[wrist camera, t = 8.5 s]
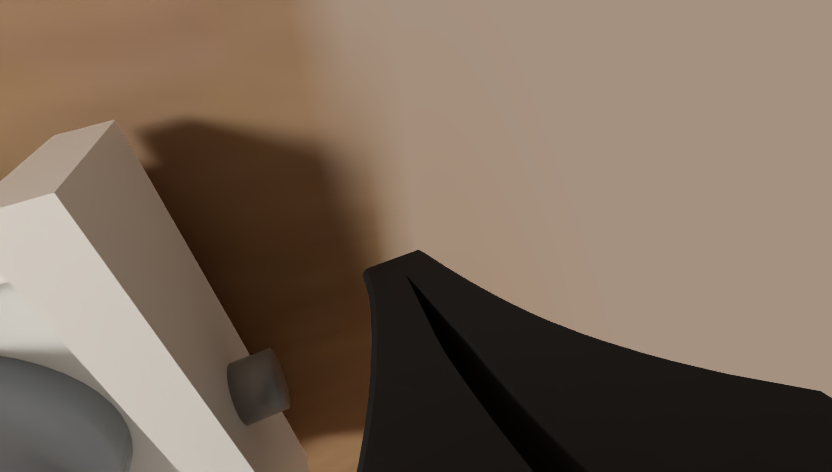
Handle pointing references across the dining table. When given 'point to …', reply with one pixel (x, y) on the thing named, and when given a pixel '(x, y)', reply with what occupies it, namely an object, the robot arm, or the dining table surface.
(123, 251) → the white drawer
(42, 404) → the grey dome
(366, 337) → the dining table surface
